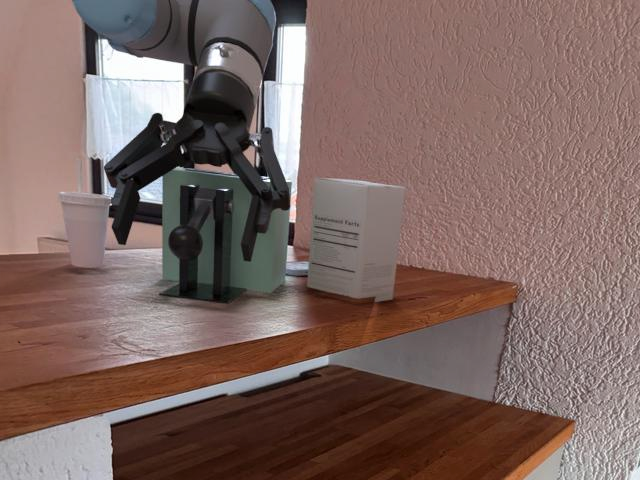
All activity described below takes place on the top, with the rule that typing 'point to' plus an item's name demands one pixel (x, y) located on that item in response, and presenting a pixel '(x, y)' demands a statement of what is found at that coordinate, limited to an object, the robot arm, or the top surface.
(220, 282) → the lever bracket
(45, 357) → the top surface
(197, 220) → the lever
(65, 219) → the smoothie
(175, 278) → the grey-green box
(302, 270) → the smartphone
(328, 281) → the rectangular carton
